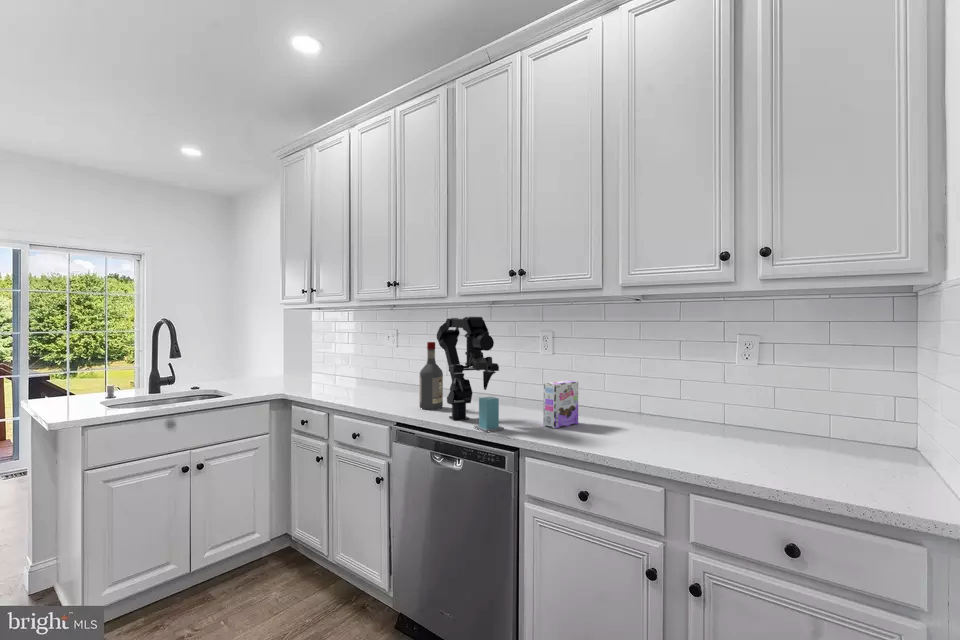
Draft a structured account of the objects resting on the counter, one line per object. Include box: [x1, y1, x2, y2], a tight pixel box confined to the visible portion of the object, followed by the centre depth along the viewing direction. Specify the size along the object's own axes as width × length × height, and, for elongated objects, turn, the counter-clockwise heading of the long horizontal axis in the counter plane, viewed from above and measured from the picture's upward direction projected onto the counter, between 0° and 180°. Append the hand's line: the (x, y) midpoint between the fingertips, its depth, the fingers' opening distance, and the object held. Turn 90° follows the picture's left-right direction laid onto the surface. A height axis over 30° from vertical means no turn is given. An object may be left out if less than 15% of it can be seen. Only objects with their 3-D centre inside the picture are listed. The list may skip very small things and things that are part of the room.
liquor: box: [419, 341, 444, 411], centre depth 214 cm, size 9×9×30 cm
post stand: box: [473, 424, 505, 433], centre depth 171 cm, size 8×8×5 cm
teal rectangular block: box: [478, 396, 500, 429], centre depth 171 cm, size 5×5×10 cm
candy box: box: [542, 380, 579, 430], centre depth 178 cm, size 14×6×16 cm, turn 129°
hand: (474, 390), depth 179 cm, fingers open, 9 cm apart
